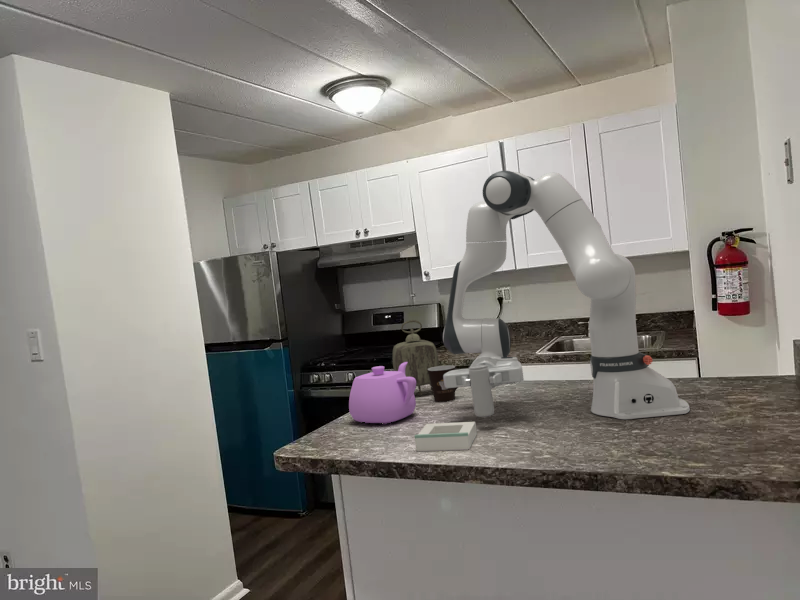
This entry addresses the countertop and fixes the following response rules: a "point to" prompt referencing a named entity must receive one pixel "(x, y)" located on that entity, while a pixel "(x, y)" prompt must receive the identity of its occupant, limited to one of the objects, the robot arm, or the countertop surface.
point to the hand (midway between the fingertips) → (479, 382)
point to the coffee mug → (441, 383)
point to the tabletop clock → (415, 357)
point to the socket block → (446, 436)
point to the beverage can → (481, 390)
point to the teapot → (382, 396)
